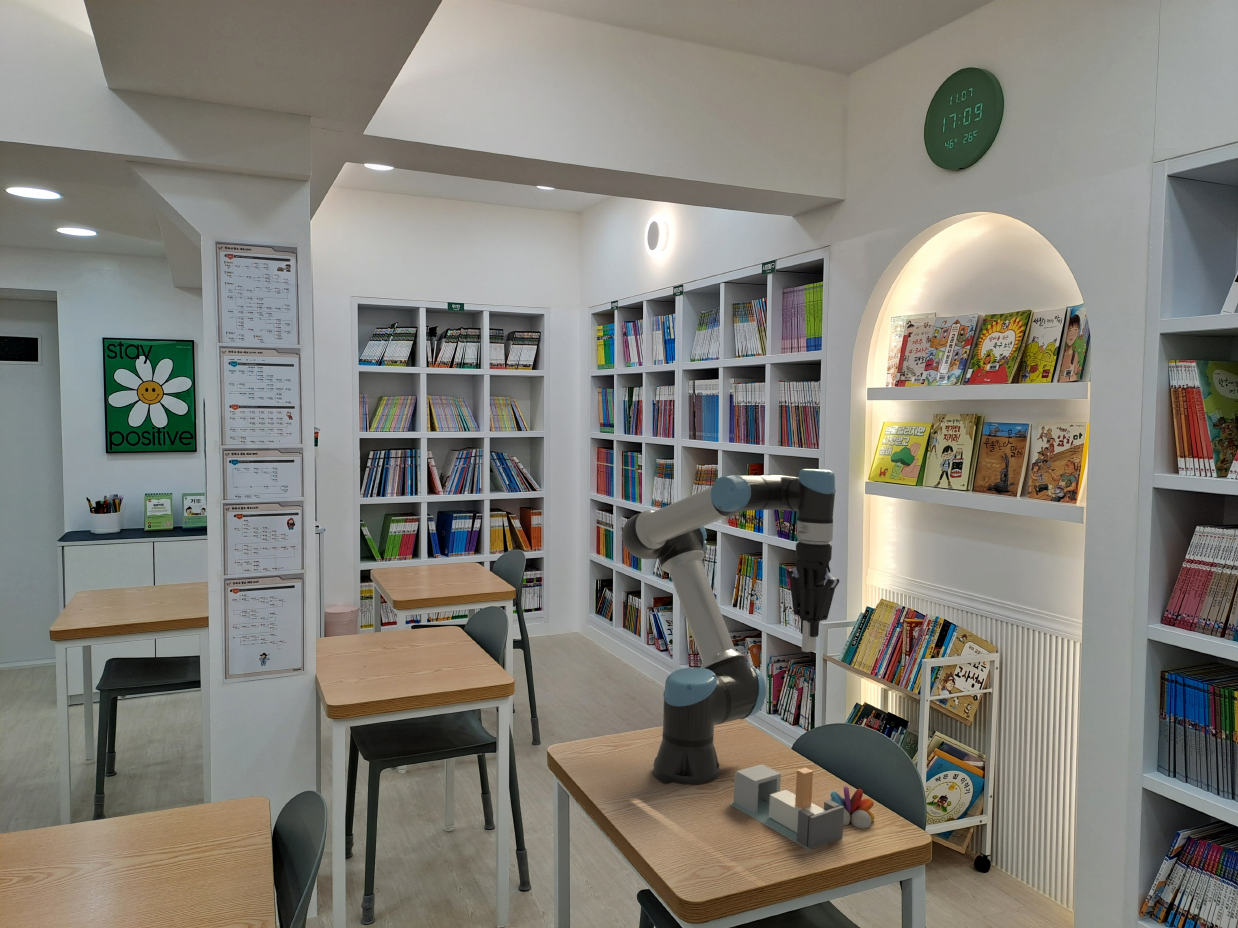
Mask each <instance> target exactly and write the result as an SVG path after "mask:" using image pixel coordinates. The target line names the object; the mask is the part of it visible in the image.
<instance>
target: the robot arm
mask: <svg viewBox="0 0 1238 928" xmlns="http://www.w3.org/2000/svg"><path fill="white" fill-rule="evenodd" d="M835 496H836V475H835V472H834V471H832V470H829V469H816V468H803V469H801V470H799V476H797V477H796V476H789V475H782V474H781V475H780V474H776V473H773V474H772V473H769V474H768V473H767V474H762V475H738V474H737V475H735V474H731V475H724V476H720V477H718V478H717V479H715V481H714V483H713V484H712V485H711V487H708V488H706V489H703V490H701V491H698V492H696V493H693V494H692V495H689V496H688V497H685V498H682V499H680V500H678V501H675V502H673V503H671V504H668V505H666V506H663V507H661V508H660V509H657V510H650V509H648V510H647V509H646V510H644V511H642V512H640V513H637V514H635V515H632V516H631V517H630V518H629V519H627V521H626V522H625V523H624V525H623V529H622V533H621V538H622V542H623V545H624V548H625V549H626V550H627V551H628V552H629V553H630V554H631V555H633V556H634V557H636V558H638V559H641V560H658V562H659V565H660V568H661V570H662V571H664V572H666V573H668V574H669V575H670V577H671V581H672V584H673V585H674V589H675V591H676V594H677V597H678V600H679V602H680V606H681V607H682V610H683V613H684V615H685V619H686V622H687V625H688V627H689V630H690V632H691V635H692V638H693V641H694V643H695V645H696V649H697V651H698V653H699V657H700V659H701V666H700V667H696V666H695V667H684V668H679V669H677V670H675V671H672V672H671V673H670V674H669V675H668V676H667V677H666V679H665V684H664V690H663V694H662V695H663V714H662V715H663V718H662V719H663V720H662V740H661V742H660V745H659V749H658V752H657V755H656V757H655V759H654V761H653V771H652V773H653V776H654V777H655V778H656V779H657V780H659V782H662V783H664V784H666V785H669V784H673V783H674V784H679V785H686V786H699V785H705V784H709V783H712V782H714V781H716V780H717V779H718V778H719V777H720V774H721V766H720V762H719V760H718V755H717V752H716V747H715V744H714V736H715V726H716V725H717V726H718V725H721V724H725V723H729V722H733V721H738V720H745V719H747V718H749V717H752V716H754V715H756V714H758V713H759V711H761V710H762V709H763V707H764V704H765V699H766V698H767V684H766V680H765V678H764V676H763V674H762V672H761V671H760V670H759V669H758V668H757V667H755V666H754V665H750V664H748V662H747V659H746V656H745V655H744V654H743V653H741V652H739V651H737V650H736V648H735V646H734V643H733V641H732V638H731V635H730V633H729V630H728V627H727V625H726V623H725V620H724V618H723V617H724V616H723V613H722V612H721V610H720V607H719V604H718V601H717V599H716V596H715V593H714V591H713V589H712V586H711V583H710V580H709V578H708V575H707V573H706V570H705V568H704V565H703V562H702V561H703V559H704V557H705V555H706V554H705V551H704V550H705V549H706V545H707V541H706V540H707V538H708V536H707V535H708V534H707V531H706V528H705V527H706V526H707V525H711V524H712V523H716V522H718V521H720V520H724V519H725V518H728V517H731V516H735V515H737V514H739V513H742V512H746V511H768V510H771V511H772V510H782V511H783V510H784V511H791V512H793V511H794V512H797V513H796V515H797V516H796V517H797V519H796V520H797V521H796V539H797V542H796V543H795V552H794V553H795V554H794V555H795V558H796V559H797V560H796V563H795V567H794V568H792V569H787V570H786V575H787V578H788V580H789V587H790V593H791V601H792V609H793V611H792V612H793V614H794V615H795V616H798V617H799V618H800V634H801V635H802V637H801V638H802V639H801V651H802V652H803V653H804V652H805V653H810V652H816V649H817V648H816V647H817V646H816V644H817V637H818V636H819V634H820V633H819V631H820V622H822V621H827V620H828V618H829V614H830V611H831V610H830V609H831V607H832V606H831V605H832V602H833V598H834V594H835V590H836V588H837V587H838V585H839V584H840V578H839V577H834V576H833V574H832V573H831V567H830V562H831V560H832V551H833V549H832V548H833V545H832V544H831V543H830V542H832V541H833V535H834V510H835V509H834V508H835Z"/></svg>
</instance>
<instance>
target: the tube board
mask: <svg viewBox="0 0 1238 928" xmlns="http://www.w3.org/2000/svg"><path fill="white" fill-rule="evenodd" d="M781 776H782V773H781V772H778V771H777V770H774V769H773V768H771V767H769V766H767V765H765V764H763V763H762V764H758V765H755V766H750V767H748V768H747V767H746V768H744V769H740V770H736V773H734V781H733V782H734V784H733V785H734V786H733V787H734V789H733V801H732V802H731V803H728V804H729V805H730V806H732V807H733V808H735V809H737V810H739V811H741V812H742V813H744V814H746V815H747V816H749V817H751V818H753V819H754V820H756V821H757V822H760V823H761V824H763V825H764V826H766V827H768V828H769V829H772V830H773V831H775V832H777V833H779V834H780V835H782V836H784V838H788V839H789V840H790V841H792V842H794V843H795V844H798V845H799V846H801V847H803V848H805V849H806V850H808V851H811V850H813V849H815V848H818V847H820V846H824V845H826V844H829V843H832V842H834V841H837V840H839V839H841V838H842V839H843V838H845V836H844V834H843V832H844V826H843V818H844V807H843V806H840V805H839V804H837V803H835V802H833V801H831V800H830V799H828V800H824V802H823V809H824V810H826V811H824V812H821V813H818V814H815V815H814V813H812V812H810V811H808V810H806V809H805V808H804V809H801V810H798V827H797V833H796V832H795V831H793V830H791V829H789V828H788V827H786V826H784V825H782V824H780V823H779V822H777V821H775V820H773V819H772V818H770V817H769V803H770V794H774V793H777V792H780V791H781V781H782V779H781V778H782V777H781Z"/></svg>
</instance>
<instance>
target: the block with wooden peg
mask: <svg viewBox="0 0 1238 928" xmlns="http://www.w3.org/2000/svg"><path fill="white" fill-rule="evenodd" d="M813 774H814V771H813V770H812V769H809V768H807V767H802V768H797V769H796V779H795V780H796V781H795V793H793V792H791V791H790V790H787V789H784V790H780V792H777V793H774V794H770V803H769V817H770V818H772V819H773V820H775V821H777V822H779V823H780V824H782V825H784V826H786V827H788V828H789V829H791V830H793V831H795V832H796V833H797V827H798V810H801V809H804V808H805V809H806V810H808V811H810V812H812V813H814V815H815V814H818V813H821V812H824V811H826V810H824V808H822V807H820V806H818V805H816V804H815V803H813V802H812V799H813V798H812V796H813V779H814V778H813V777H814V775H813Z"/></svg>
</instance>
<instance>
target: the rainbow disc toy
mask: <svg viewBox="0 0 1238 928" xmlns="http://www.w3.org/2000/svg"><path fill="white" fill-rule="evenodd" d="M863 795H864V790H862V788H858V789H856V790H855V791H854V793H853V795H852V796H850V788H849V787H848V786H846V785H845V786H844V787H843V796H844V797H843V796H841V795H840V794H839V793H838V792H836V791H831V792H830V799H829V800H831V801H833V802H835V803H837V804H839V805H840V806H843V807H844V818H843V827H845V826H848V825H849V824H850V823H851V825H852V826H854V827H856V828H858V829H868V828H869V829H870V827H871V825H872V823H873V822H874V820H875V815H874V813H873V812H872V811H871V809H872V808H873V806H874V804H875V803H874V801H873V799H872V798H871V799H870V798H863Z"/></svg>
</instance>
